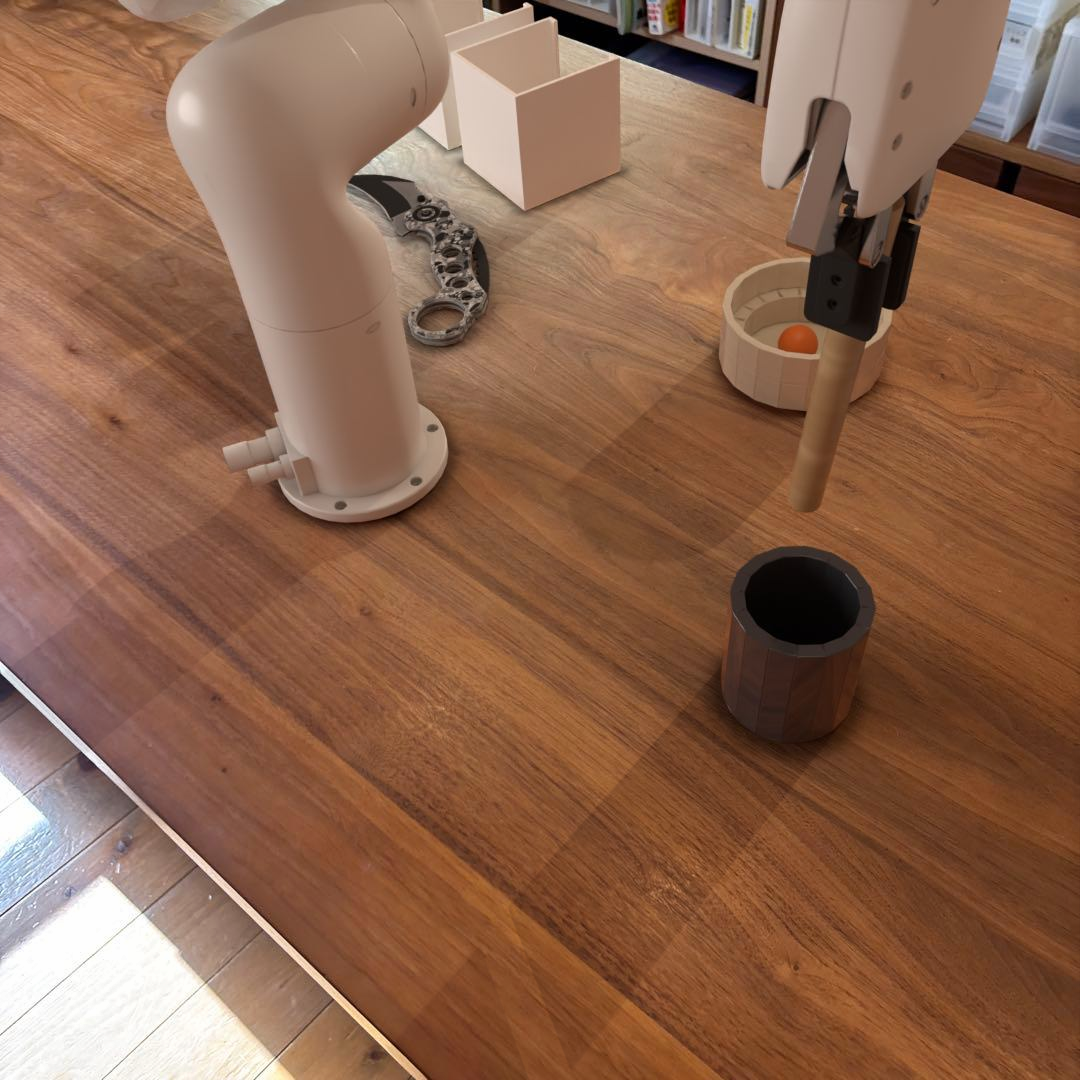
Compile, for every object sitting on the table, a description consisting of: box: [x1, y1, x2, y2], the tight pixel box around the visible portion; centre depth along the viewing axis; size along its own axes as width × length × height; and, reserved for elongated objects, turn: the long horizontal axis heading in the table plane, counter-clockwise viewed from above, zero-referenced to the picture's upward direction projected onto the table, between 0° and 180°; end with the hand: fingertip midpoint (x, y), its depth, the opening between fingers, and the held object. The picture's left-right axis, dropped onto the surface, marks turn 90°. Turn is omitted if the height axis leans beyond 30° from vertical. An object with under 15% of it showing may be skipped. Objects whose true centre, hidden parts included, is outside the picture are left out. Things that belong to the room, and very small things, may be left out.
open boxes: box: [417, 0, 622, 212], centre depth 107 cm, size 25×11×11 cm, turn 33°
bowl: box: [718, 256, 894, 412], centre depth 84 cm, size 12×12×6 cm
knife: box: [347, 173, 491, 347], centre depth 99 cm, size 28×2×10 cm
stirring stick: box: [786, 196, 905, 514], centre depth 51 cm, size 2×2×18 cm
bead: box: [778, 325, 818, 354], centre depth 84 cm, size 3×3×3 cm
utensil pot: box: [720, 545, 877, 744], centre depth 63 cm, size 8×8×9 cm
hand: (853, 310), depth 48 cm, fingers closed on stirring stick, 1 cm apart
